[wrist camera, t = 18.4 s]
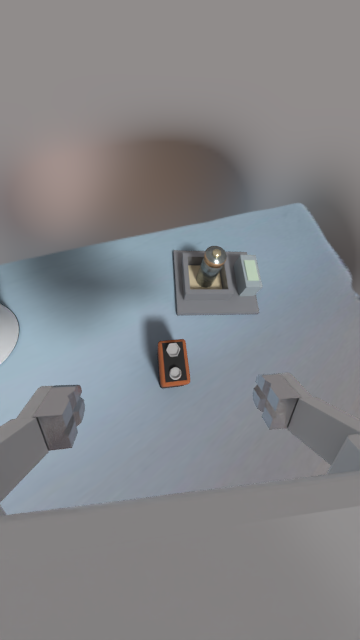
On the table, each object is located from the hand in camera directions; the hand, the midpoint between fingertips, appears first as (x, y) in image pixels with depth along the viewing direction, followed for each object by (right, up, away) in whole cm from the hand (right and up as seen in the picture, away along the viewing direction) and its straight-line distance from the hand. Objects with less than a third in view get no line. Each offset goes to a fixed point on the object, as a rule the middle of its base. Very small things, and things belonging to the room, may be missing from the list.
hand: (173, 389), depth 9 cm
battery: (-2, -6, +29) cm, 30 cm away
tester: (+8, +12, +37) cm, 40 cm away
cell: (+6, +12, +36) cm, 38 cm away
